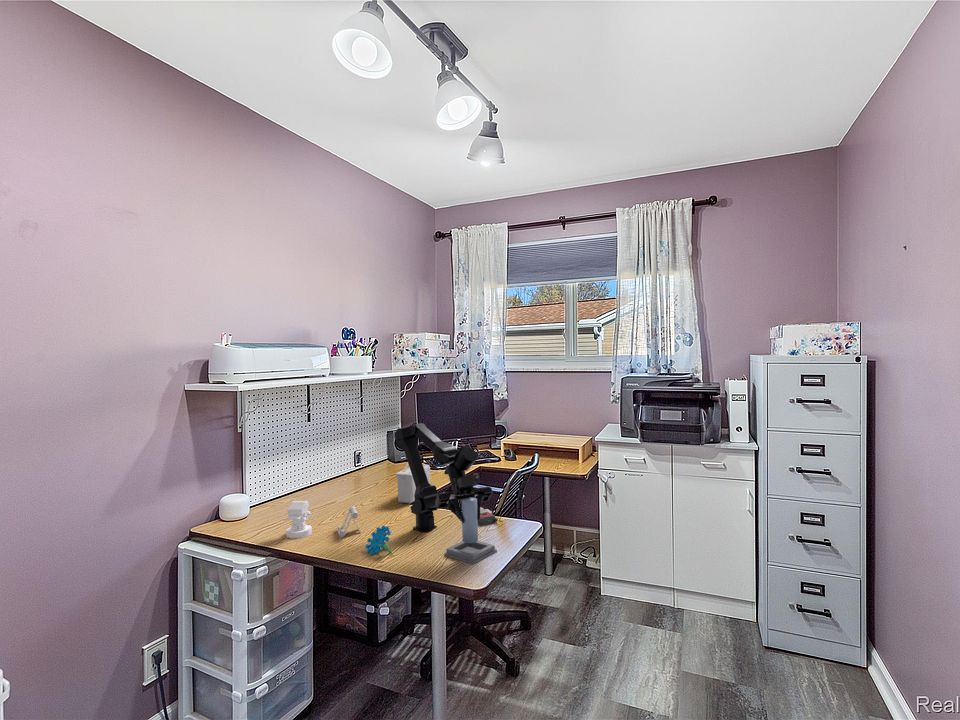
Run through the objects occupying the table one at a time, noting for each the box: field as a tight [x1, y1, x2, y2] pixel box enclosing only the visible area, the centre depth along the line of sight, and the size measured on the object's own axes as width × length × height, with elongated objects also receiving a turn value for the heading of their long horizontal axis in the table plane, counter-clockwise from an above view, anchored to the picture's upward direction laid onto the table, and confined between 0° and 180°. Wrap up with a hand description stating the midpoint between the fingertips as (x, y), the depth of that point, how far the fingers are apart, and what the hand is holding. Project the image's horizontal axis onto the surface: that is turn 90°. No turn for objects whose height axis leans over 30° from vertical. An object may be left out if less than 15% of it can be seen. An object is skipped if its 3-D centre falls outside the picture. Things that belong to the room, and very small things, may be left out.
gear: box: [365, 525, 393, 556], centre depth 161 cm, size 11×6×10 cm
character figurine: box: [285, 500, 313, 539], centre depth 178 cm, size 9×10×12 cm
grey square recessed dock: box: [443, 540, 498, 565], centre depth 157 cm, size 12×12×2 cm
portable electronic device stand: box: [336, 505, 362, 539], centre depth 179 cm, size 9×8×8 cm
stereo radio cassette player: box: [395, 462, 431, 504], centre depth 223 cm, size 21×8×20 cm, turn 163°
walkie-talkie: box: [478, 506, 498, 526], centre depth 193 cm, size 9×4×20 cm
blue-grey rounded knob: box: [460, 498, 479, 543], centre depth 157 cm, size 5×5×13 cm
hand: (471, 520), depth 155 cm, fingers closed on blue-grey rounded knob, 5 cm apart
